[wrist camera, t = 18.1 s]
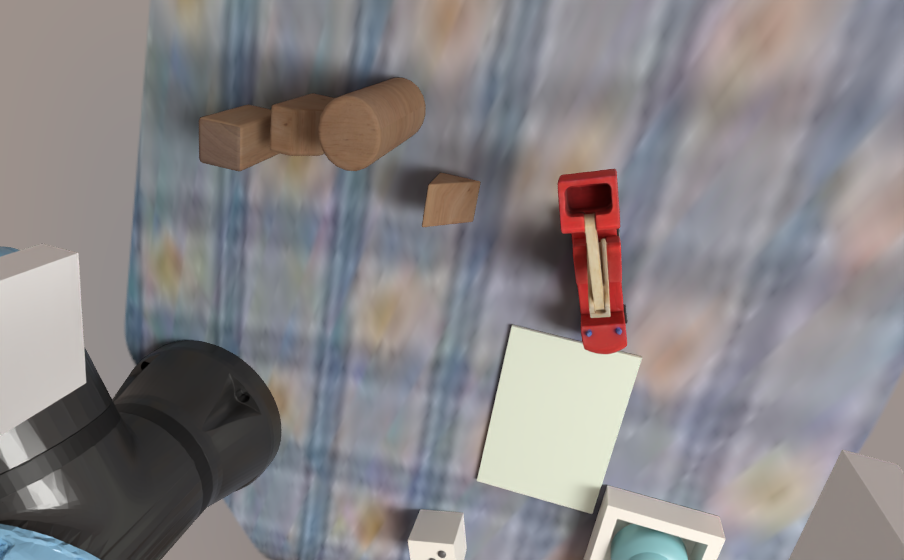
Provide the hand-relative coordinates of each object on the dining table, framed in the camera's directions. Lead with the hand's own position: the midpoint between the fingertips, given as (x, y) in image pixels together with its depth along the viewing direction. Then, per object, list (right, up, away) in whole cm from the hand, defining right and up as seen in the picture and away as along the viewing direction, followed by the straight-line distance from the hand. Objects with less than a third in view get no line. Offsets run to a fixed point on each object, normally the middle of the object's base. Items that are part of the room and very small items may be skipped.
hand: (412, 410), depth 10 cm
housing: (+17, -20, +41) cm, 48 cm away
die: (0, -20, +45) cm, 49 cm away
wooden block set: (-5, +13, +35) cm, 37 cm away
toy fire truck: (+11, +4, +34) cm, 36 cm away
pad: (+9, -9, +39) cm, 41 cm away
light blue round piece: (+17, -20, +40) cm, 48 cm away
